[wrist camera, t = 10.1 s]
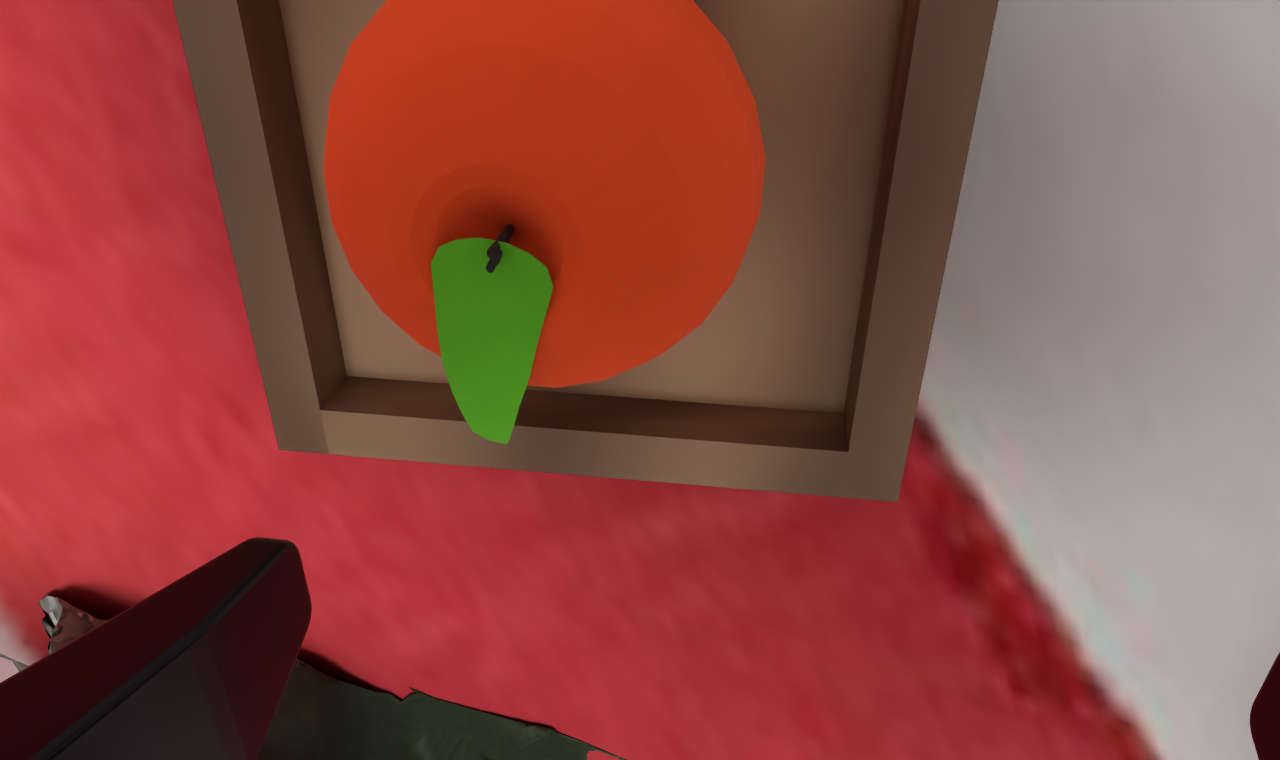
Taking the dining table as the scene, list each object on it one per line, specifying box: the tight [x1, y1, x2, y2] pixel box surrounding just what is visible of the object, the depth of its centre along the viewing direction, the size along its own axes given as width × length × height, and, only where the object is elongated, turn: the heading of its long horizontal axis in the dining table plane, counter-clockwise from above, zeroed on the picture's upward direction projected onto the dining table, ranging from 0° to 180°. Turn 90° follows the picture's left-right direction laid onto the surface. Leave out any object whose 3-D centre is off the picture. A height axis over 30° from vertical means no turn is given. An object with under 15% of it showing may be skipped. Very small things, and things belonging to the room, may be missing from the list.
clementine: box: [323, 0, 766, 444], centre depth 15 cm, size 8×7×7 cm
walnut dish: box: [172, 0, 998, 502], centre depth 17 cm, size 14×14×2 cm
